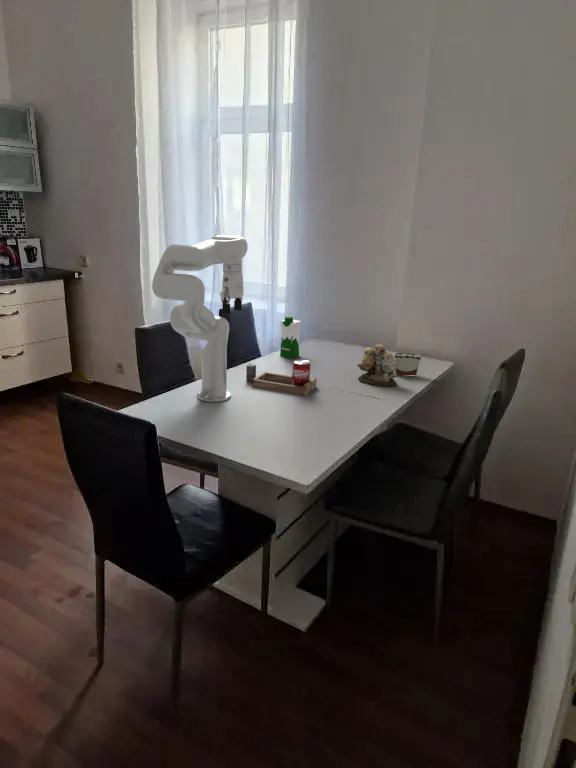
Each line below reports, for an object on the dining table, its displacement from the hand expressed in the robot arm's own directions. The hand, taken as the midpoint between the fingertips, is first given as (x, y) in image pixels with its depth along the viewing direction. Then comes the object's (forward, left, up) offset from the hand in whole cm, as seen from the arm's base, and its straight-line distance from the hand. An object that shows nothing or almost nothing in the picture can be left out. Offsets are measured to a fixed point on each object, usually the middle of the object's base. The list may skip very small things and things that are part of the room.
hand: (232, 311), depth 211 cm
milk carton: (+54, -4, -31) cm, 62 cm away
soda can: (+6, -28, -31) cm, 42 cm away
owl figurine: (+32, -54, -31) cm, 70 cm away
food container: (+51, -63, -31) cm, 87 cm away
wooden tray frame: (+6, -19, -30) cm, 36 cm away
